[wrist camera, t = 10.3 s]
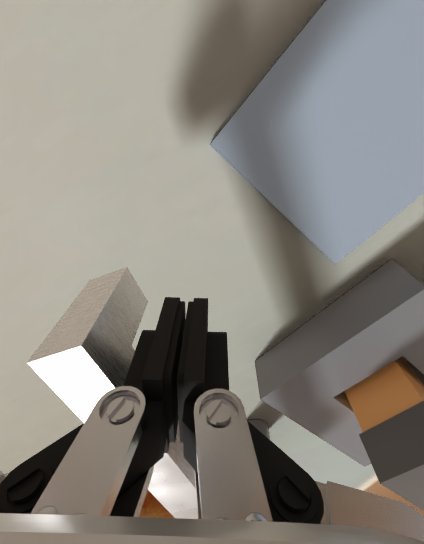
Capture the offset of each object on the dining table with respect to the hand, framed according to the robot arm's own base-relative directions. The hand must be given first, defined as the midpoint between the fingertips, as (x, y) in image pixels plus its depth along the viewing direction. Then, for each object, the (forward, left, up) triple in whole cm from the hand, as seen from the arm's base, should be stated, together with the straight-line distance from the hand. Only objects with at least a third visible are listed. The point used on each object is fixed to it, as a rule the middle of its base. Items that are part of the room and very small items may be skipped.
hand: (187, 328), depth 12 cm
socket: (+3, +19, -10) cm, 22 cm away
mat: (-11, +3, -10) cm, 15 cm away
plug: (-1, +19, -10) cm, 21 cm away
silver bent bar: (+8, +8, -2) cm, 12 cm away
